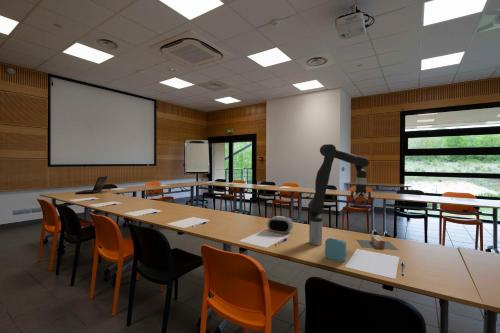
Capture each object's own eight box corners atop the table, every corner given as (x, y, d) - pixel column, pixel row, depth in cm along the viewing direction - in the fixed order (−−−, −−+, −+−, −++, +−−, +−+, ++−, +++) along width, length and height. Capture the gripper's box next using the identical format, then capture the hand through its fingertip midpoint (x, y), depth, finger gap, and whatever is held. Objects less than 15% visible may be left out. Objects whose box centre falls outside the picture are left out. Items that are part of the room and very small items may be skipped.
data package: (346, 260, 155) (346, 241, 155) (344, 262, 151) (344, 243, 151) (327, 255, 162) (327, 237, 162) (324, 257, 159) (325, 239, 158)
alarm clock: (267, 232, 214) (267, 216, 214) (270, 229, 223) (270, 214, 223) (290, 235, 206) (290, 219, 206) (292, 232, 215) (293, 216, 215)
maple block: (371, 241, 190) (377, 247, 177) (371, 234, 190) (377, 240, 177) (378, 241, 190) (384, 248, 176) (378, 235, 189) (384, 241, 176)
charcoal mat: (362, 248, 176) (362, 247, 176) (355, 240, 194) (356, 239, 194) (398, 250, 172) (398, 250, 172) (389, 242, 190) (389, 241, 190)
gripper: (352, 183, 190) (351, 204, 191) (372, 184, 187) (371, 205, 188) (350, 182, 197) (349, 202, 198) (369, 183, 195) (368, 204, 195)
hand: (360, 204), depth 193 cm, fingers open, 8 cm apart
